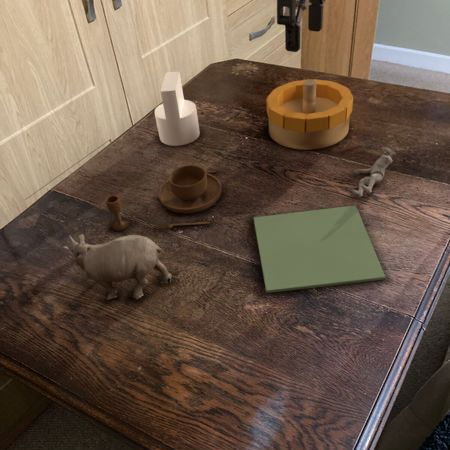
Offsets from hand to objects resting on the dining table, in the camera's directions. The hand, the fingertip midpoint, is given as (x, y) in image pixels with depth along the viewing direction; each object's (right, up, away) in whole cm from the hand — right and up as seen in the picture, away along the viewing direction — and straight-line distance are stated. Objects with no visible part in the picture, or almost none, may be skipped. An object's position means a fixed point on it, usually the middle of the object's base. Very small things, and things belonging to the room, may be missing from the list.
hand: (304, 40), depth 78 cm
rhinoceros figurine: (-30, -39, +1) cm, 49 cm away
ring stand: (+5, -4, +28) cm, 29 cm away
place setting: (-23, -23, +15) cm, 36 cm away
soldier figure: (+15, -20, +13) cm, 28 cm away
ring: (+5, -2, +25) cm, 25 cm away
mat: (+2, -33, +2) cm, 33 cm away
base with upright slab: (-23, -5, +31) cm, 39 cm away
